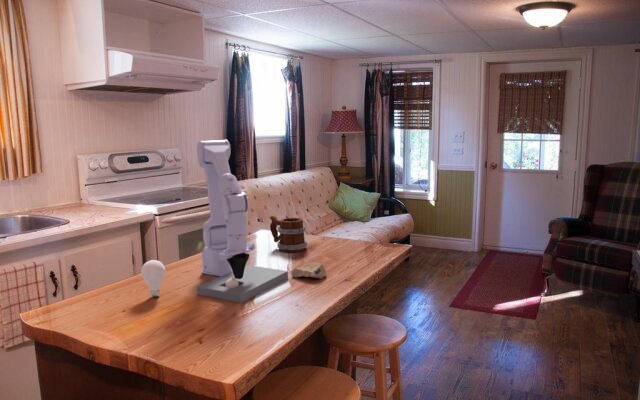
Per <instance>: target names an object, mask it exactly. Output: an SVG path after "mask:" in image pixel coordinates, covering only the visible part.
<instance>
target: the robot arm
mask: <svg viewBox="0 0 640 400" xmlns="http://www.w3.org/2000/svg"><path fill="white" fill-rule="evenodd" d="M231 150H232V149H231V144H230V141H228V139H218V140H217V139H216V140H215V139H213V140H202V139H201V140H199V141H198V142H197V145H196V155H197V156H196V157H197V162H198V166H199V167H200V168H202V169H204V174H205V180H206V181H205V182H206V189H207V197H208V199H207V200H208V208H209V214H210V215H209V216H210V217H209V218H208V219H207V221H205V222H204V224H203V225H202V238H203V243H204V247H203V250H202V253H201V258H202V260H201V261H202V262H201V263H202V271H201V274H205V275H212V276H217V277H220V276H223V275H225V274H228V273H230V272H232V271H233V274H234V277H235V278H236V279H241V278H243V274H244V269H245V266H246V265H247V262H248V260H249V258H250V253H249V252H251V251H254V250H256V249H255V248H256V247H255V243H254V242H248V243H247V224H246V220H247V219H246V213H247V212H248V210H249V200H248V198H247V197H248V196H247V194H246V193H245V192H244V191H243V190H241V188H240V185H239V182H238V178H237V177H236V176H235V175H234V174H232V172H231V168H230V164H229V159H230V156H231V153H232V152H231Z"/></svg>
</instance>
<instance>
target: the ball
mask: <svg viewBox="0 0 640 400" xmlns="http://www.w3.org/2000/svg"><path fill="white" fill-rule="evenodd" d="M225 286H226V287H228V288H235V287H237V286H239V282H238V281H237V280H236V279H234V278H231V279H228V280H227V282H226V284H225Z"/></svg>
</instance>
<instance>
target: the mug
mask: <svg viewBox="0 0 640 400" xmlns="http://www.w3.org/2000/svg"><path fill="white" fill-rule="evenodd" d="M269 219H270V220H271V222H270V225H269V229H270V232H271V236H272V237H273V242H274V243H277V248H278V251H279V252H282V253H285V254H287V253H288V254H293V253H295V254H297V253H301V252H304V251H305V250H306V249H307V245H308V242H307V240H305V239H306V238H305V231H306V228H307V227H306V226H305V225H304V222H303V221H304V220H303V218H300V217H291V218H290V217H284V218H282V219H280V220H279V219H277V217H275V215H271V216H270V217H269ZM277 227H278V228H277ZM278 233H279V234H278Z"/></svg>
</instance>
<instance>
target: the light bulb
mask: <svg viewBox="0 0 640 400" xmlns="http://www.w3.org/2000/svg"><path fill="white" fill-rule="evenodd" d="M140 271H141V273H140V274H141V277H142V279H143V281H144V282H145V283H146V284H147V288H148V290H149V296H151V297H153V298H157V297H159V296H160V295H161V290H160V289H161V286H162V285H161V284H162V281H163V279H164V277H165V275H166V268H165V265H164V264H163V262H161V261H159V260H156V259H151V260H148V261H146V262H144V263H143V265H142V267H141V269H140Z"/></svg>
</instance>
